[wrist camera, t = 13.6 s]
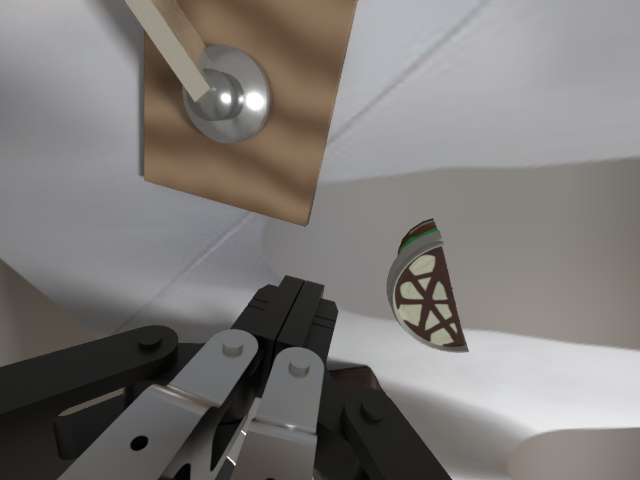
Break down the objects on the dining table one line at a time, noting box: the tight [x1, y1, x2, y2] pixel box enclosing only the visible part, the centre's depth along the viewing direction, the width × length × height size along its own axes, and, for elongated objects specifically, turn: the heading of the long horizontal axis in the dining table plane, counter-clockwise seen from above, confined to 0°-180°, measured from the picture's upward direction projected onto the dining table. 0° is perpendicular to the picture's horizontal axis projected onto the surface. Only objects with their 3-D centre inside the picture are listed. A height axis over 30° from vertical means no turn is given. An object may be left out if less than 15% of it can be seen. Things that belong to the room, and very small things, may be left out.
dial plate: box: [144, 0, 358, 226], centre depth 35 cm, size 24×21×2 cm
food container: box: [387, 218, 469, 353], centre depth 35 cm, size 12×6×10 cm, turn 19°
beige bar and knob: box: [124, 0, 273, 143], centre depth 31 cm, size 18×9×6 cm, turn 34°
